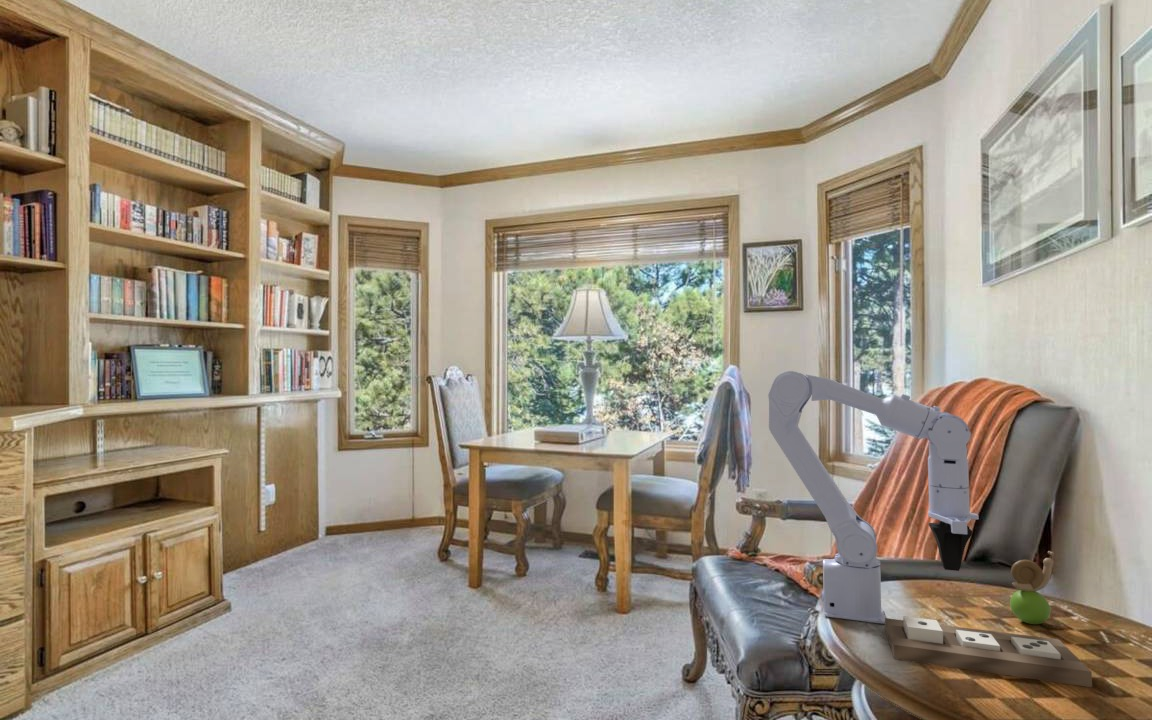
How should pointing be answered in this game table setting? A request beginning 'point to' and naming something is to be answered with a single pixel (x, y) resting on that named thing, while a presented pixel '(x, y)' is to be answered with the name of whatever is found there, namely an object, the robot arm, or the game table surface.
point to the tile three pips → (1035, 647)
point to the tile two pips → (977, 640)
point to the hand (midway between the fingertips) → (951, 569)
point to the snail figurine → (1030, 590)
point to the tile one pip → (922, 630)
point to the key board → (989, 655)
